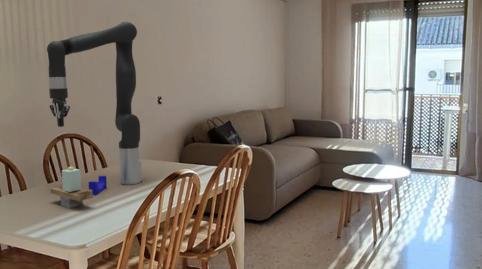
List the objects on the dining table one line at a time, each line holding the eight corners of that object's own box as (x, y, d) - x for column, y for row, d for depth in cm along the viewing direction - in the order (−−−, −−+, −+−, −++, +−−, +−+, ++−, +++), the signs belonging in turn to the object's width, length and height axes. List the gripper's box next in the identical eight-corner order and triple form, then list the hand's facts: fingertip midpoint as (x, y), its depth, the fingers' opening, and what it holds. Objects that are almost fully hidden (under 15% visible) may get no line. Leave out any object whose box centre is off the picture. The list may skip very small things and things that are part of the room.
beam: (64, 199, 194) (63, 182, 193) (93, 207, 182) (92, 189, 181) (51, 202, 189) (50, 185, 188) (79, 211, 177) (78, 193, 176)
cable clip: (97, 188, 212) (96, 175, 211) (106, 188, 212) (106, 175, 211) (86, 195, 200) (85, 182, 200) (95, 195, 200) (95, 182, 199)
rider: (74, 187, 188) (72, 165, 186) (81, 189, 185) (80, 166, 183) (63, 190, 184) (61, 167, 182) (70, 192, 181) (68, 169, 179)
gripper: (74, 87, 202) (76, 126, 204) (57, 86, 210) (60, 124, 212) (58, 88, 196) (61, 128, 198) (42, 87, 204) (44, 126, 206)
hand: (60, 126), depth 205 cm, fingers closed
